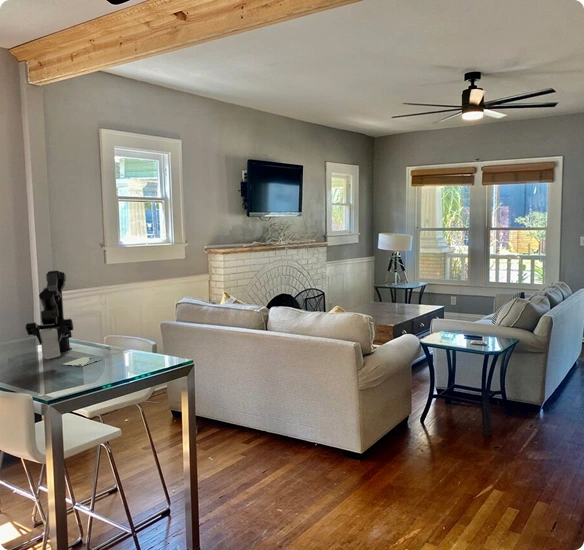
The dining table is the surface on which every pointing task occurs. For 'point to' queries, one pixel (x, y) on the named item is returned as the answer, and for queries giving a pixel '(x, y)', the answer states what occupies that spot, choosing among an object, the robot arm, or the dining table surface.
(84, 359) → the mat
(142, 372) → the dining table surface
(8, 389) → the dining table surface
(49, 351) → the skincare box
